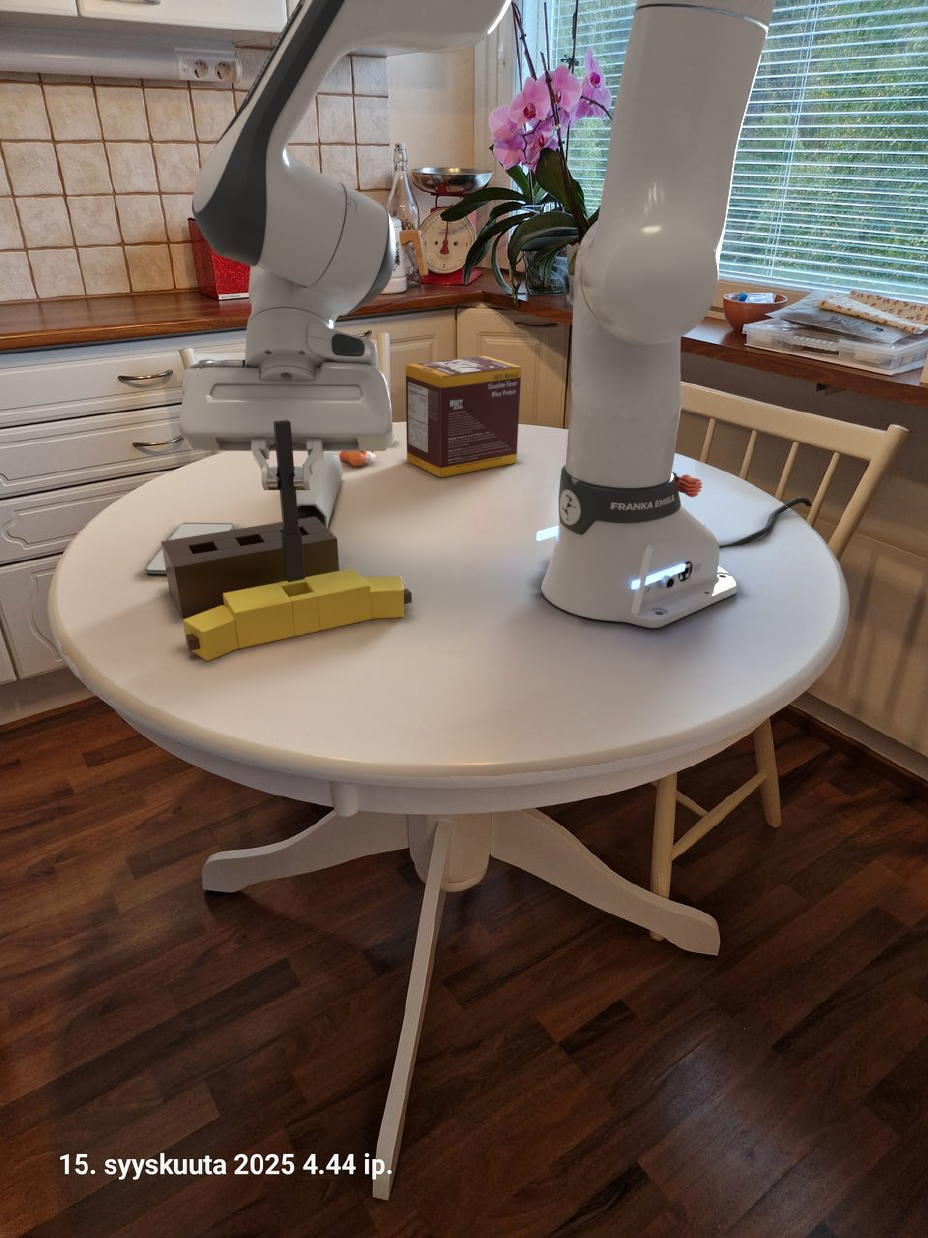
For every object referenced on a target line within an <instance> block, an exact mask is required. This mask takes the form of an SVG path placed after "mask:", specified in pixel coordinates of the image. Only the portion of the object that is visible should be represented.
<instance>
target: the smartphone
mask: <svg viewBox="0 0 928 1238" xmlns="http://www.w3.org/2000/svg"><path fill="white" fill-rule="evenodd" d="M229 530H235V524H234V523H229V522H228V523H227V522H225V523H223V522H222V523H221V522H219V523H218V522H184V523H181V524H179V526H178V527H177V529H175V531H174V532H173V533H172V534H171V536H170V537H169V539H168V540H173V539H179V538H185V537H191V536H198V535H204V534H210V533H216V532H223V531H229ZM144 571H145V572H146V573H147V574H151V575H157V574H158V575H167V574H166V568H165V562H164V556H163V551H162V547H161V548H160V550H159V551H158V552H157V553H156V554H155V556H154V557H153V558H152V560H151V561H150V562H149V563H148V565H147V566H146V567H145V568H144Z"/></svg>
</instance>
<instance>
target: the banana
mask: <svg viewBox="0 0 928 1238" xmlns="http://www.w3.org/2000/svg"><path fill="white" fill-rule="evenodd" d="M223 600H224V606H223V605H221V606H218V607H215V608H213V609H210V610H207V611H205V612H202V613H200V614H197V615H194V616H192V617H189V618H185V619H182V624H183V629H184V636H185V643H186V648H187V649H188V650H189V651H190V652H193V653H194V654H195V655H197V656H199V657H200V658H202V659H203V660H205V661H206V662H210V661H212V660H214V659H216V658H219V657H222V656H224V655H226V654H228V653H231V652H233V651H235V650H238V649H244V648H248V647H254V646H257V645H262V644H266V643H270V642H275V641H281V640H285V639H289V638H294V637H299V636H303V635H308V634H312V633H316V632H320V631H325V630H329V629H333V628H334V629H335V628H339V627H343V626H348V625H352V624H356V623H361V622H365V621H371V620H374V619H375V620H376V619H391V618H405V605H407V604H412V602H413V595H412V591H410V590H409V589H408V588H404V584H403V577H402V575H390V576H387V575H386V576H367V577H362V575H361V574H360V573H359V572H358V571H357V570H356V569H355V568H354V567H352V568H347V569H342V570H341V569H340V570H339V571H336V572H331V573H326V574H320V575H315V576H310V577H305V579H303V580H298V581H293V582H288V581H283V582H278V583H274V584H268V585H263V586H258V587H253V588H248V589H242V590H237V591H232V592H227V593H223Z"/></svg>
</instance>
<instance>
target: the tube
mask: <svg viewBox="0 0 928 1238" xmlns="http://www.w3.org/2000/svg"><path fill="white" fill-rule="evenodd" d="M342 478H343V463H342V460H341V459H340V458H339V457H338V456H337V455H336V454H335V453H334V452H323V461H322V462H321V464H320V465H319V467H318V468H317V469H316V471H315V472H314V474H313V475H311V490H296V498H297V511H298V519H303V518H309V517H316V518H317V519H318V520H319V521H320V522H321V523H322V524H323V525H324V526H325V527H326V528H327V529H328V530H329V522H330V520H331V515H332V512H333V509H334V506H335V502H336V498H337V495H338V491H339V487H340V484H341V480H342Z"/></svg>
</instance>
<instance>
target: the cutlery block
mask: <svg viewBox="0 0 928 1238" xmlns="http://www.w3.org/2000/svg"><path fill="white" fill-rule="evenodd" d="M298 523H299V531H300V533H301V534H302V546H303V558H304V571H305V577H310V576H315V575H320V574H326V573H331V572H336V571H340V563H339V562H340V561H339V546H338V538H337V537H336V536H335V534H333V533H332V532H331V530H330V529H329V528H328V529H327V528H326V527H325V526H324V525H323V524H322V523H321V522H320V521H319V520H318V519H317V518H316V517H309V518H303V519H298ZM281 533H283V523H282V521H281V522H280V521H279V522H273V523H266V524H260V525H255V526H248V527H242V528H234V529H233V530H229V531H223V532H216V533H210V534H204V535H198V536H191V537H185V538H179V539H173V540H169V539H167V540H162V541H160V544H161V548H162V551H163V556H164V562H165V568H166V574H165V575H166V578H167V579H166V581H167V585H168V589H169V593H170V595H171V597H172V600H173V601H174V603H175V606H176V609H177V610H178V612H179V614H180V617H181V619H182V620H184V619H186V618H189V617H192V616H194V615H197V614H200V613H202V612H205V611H207V610H210V609H213V608H215V607H218V606H221V605H223V606H224V600H223V593H227V592H232V591H237V590H242V589H248V588H253V587H258V586H263V585H268V584H274V583H278V582H283V581H287V580H286V579H285V570H284V559H283V548H282V537H281Z"/></svg>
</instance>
